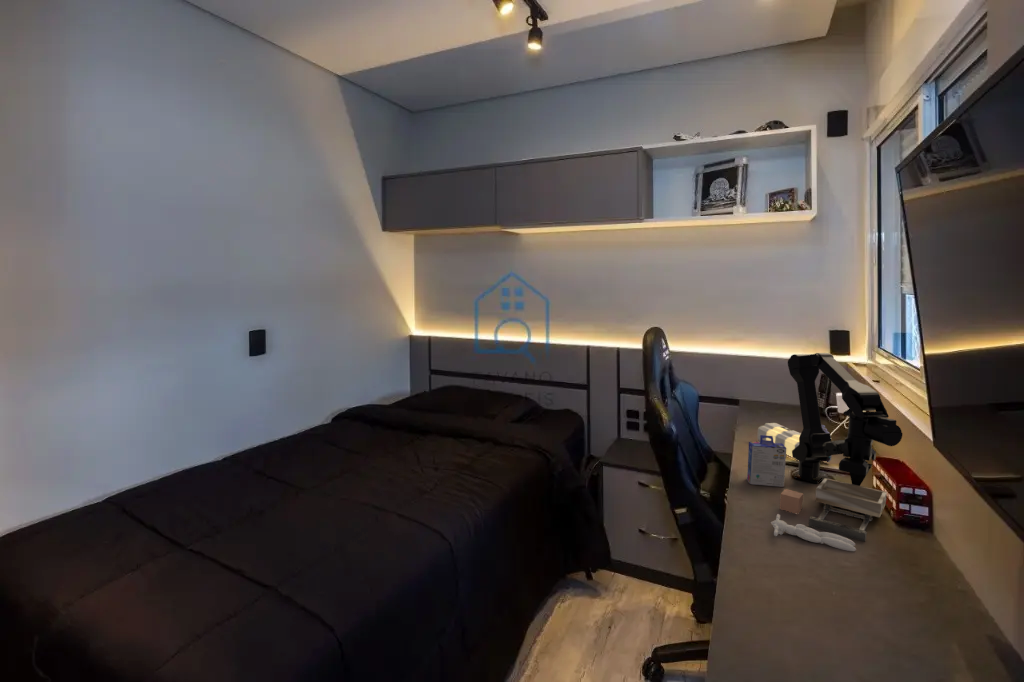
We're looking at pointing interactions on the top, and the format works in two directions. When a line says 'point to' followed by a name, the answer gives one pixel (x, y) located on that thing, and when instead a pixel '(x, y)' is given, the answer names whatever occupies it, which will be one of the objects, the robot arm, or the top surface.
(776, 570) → the top surface
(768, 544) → the top surface
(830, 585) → the top surface
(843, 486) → the beige open rectangular box
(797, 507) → the block
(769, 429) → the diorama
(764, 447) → the ink cartridge box
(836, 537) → the decorative figure
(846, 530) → the framed panel
